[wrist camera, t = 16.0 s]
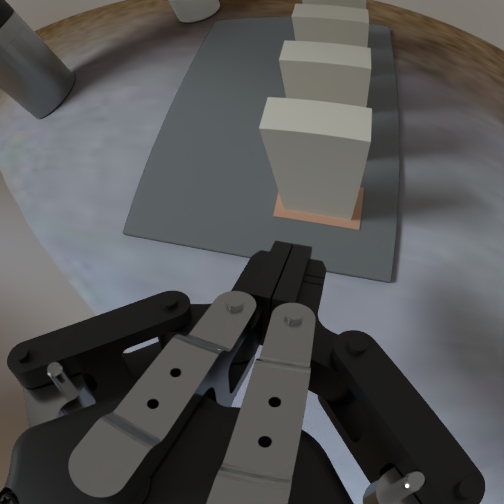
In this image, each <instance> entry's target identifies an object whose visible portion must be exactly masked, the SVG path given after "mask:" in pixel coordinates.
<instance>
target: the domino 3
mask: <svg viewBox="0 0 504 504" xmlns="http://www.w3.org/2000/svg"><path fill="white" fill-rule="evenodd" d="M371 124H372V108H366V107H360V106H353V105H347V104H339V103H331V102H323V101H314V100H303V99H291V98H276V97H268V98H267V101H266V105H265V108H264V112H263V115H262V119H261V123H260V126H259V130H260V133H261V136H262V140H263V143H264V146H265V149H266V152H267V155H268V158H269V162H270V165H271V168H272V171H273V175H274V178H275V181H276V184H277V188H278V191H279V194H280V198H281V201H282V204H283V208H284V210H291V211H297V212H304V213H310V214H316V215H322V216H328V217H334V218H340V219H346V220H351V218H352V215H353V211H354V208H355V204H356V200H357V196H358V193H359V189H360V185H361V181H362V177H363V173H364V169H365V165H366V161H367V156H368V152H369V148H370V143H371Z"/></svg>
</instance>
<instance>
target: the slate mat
mask: <svg viewBox="0 0 504 504" xmlns="http://www.w3.org/2000/svg"><path fill="white" fill-rule="evenodd" d="M284 40H288V41H295V35H294V28H293V22H292V17H258V18H240V19H227V20H217V21H215V23H214V24H213V26H212V28H211V30H210V31H209V33H208V35H207V36H206V38H205V40H204V42H203V44H202V45H201V47H200V49H199V51H198V53H197V54H196V56H195V58H194V60H193V62H192V64H191V66H190V68H189V70H188V72H187V74H186V75H185V77H184V79H183V81H182V83H181V86H180V88H179V90H178V92H177V94H176V96H175V98H174V100H173V102H172V104H171V107H170V109H169V111H168V113H167V115H166V118H165V120H164V122H163V124H162V127H161V129H160V131H159V134H158V136H157V139H156V141H155V143H154V146H153V148H152V151H151V153H150V156H149V158H148V161H147V163H146V166H145V169H144V171H143V174H142V177H141V179H140V182H139V185H138V188H137V191H136V193H135V196H134V199H133V202H132V205H131V208H130V211H129V214H128V217H127V220H126V224H125V227H124V230H123V234H125V235H128V236H134V237H139V238H144V239H150V240H155V241H160V242H166V243H171V244H176V245H182V246H187V247H193V248H198V249H203V250H209V251H214V252H220V253H225V254H230V255H236V256H241V257H247V258H251V257H252V255H254V254H255V253H257V252H259V251H260V250H264V251H269V252H270V250H271V248H272V246H273V244H274V242H275V241H282V242H288V243H293V245H294V244H300V245H306V246H312V254H311V259H314V260H320V261H323V263H324V265H325V267H326V272H330V273H336V274H341V275H347V276H353V277H358V278H364V279H370V280H375V281H381V282H387V283H389V282H390V281H391V274H392V266H393V257H394V248H395V238H396V226H397V213H398V194H399V115H398V98H397V85H396V74H395V64H394V56H393V48H392V41H391V34H390V28H389V27H386V26H381V25H375V24H369V32H368V46H367V48H371V76H370V84H369V91H368V99H367V106H366V108H372V124H371V143H370V148H369V152H368V156H367V161H366V165H365V169H364V173H363V177H362V181H361V185H360V189H359V193H358V196H357V200H356V204H355V208H354V211H353V215H352V218H351V220H346V219H340V218H334V217H328V216H322V215H316V214H310V213H304V212H297V211H291V210H284V208H283V204H282V201H281V198H280V194H279V191H278V188H277V184H276V181H275V178H274V175H273V171H272V168H271V165H270V162H269V158H268V155H267V152H266V149H265V146H264V143H263V140H262V136H261V133H260V130H259V126H260V123H261V119H262V115H263V112H264V108H265V105H266V101H267V98H268V97H276V98H286V94H285V89H284V84H283V79H282V74H281V69H280V64H279V58H280V54H281V51H282V47H283V44H284Z"/></svg>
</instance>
